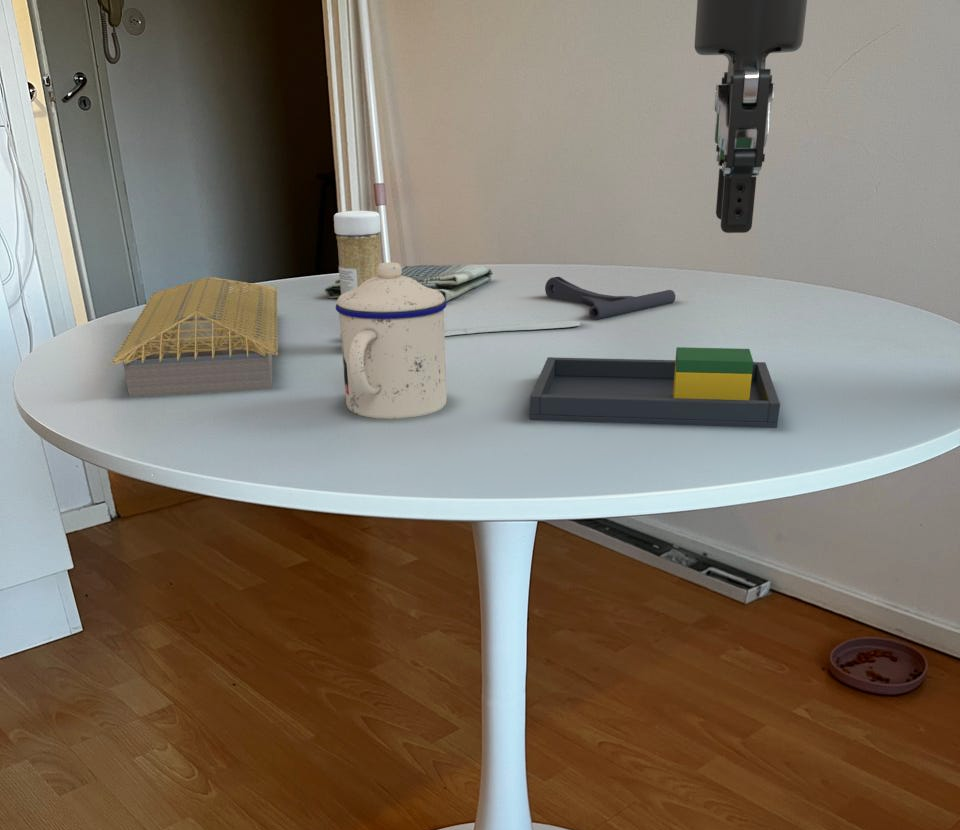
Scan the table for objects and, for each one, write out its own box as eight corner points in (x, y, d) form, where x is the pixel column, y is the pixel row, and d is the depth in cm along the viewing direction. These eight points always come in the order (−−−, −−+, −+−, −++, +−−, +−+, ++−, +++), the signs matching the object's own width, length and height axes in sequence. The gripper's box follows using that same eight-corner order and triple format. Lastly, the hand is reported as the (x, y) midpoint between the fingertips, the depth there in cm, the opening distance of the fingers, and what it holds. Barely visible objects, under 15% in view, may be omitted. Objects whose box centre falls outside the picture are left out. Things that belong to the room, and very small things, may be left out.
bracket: (585, 290, 135) (585, 268, 133) (675, 304, 125) (676, 280, 124) (509, 306, 126) (508, 283, 125) (599, 322, 117) (600, 297, 115)
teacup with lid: (371, 389, 92) (362, 253, 86) (464, 397, 89) (461, 257, 83) (308, 426, 82) (293, 276, 76) (410, 436, 79) (402, 281, 74)
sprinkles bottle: (391, 353, 104) (383, 213, 98) (348, 356, 103) (337, 215, 97) (383, 344, 108) (374, 208, 102) (341, 347, 107) (330, 210, 101)
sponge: (744, 396, 86) (749, 348, 84) (747, 411, 82) (753, 361, 80) (672, 394, 87) (676, 347, 85) (673, 408, 83) (677, 359, 81)
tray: (762, 385, 91) (765, 362, 90) (776, 430, 79) (780, 403, 78) (547, 379, 94) (547, 357, 93) (529, 421, 82) (530, 396, 81)
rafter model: (282, 392, 91) (274, 322, 88) (118, 402, 89) (104, 331, 86) (280, 317, 122) (274, 264, 119) (157, 323, 120) (148, 269, 117)
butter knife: (584, 324, 112) (576, 317, 115) (342, 343, 107) (339, 335, 110) (584, 329, 112) (576, 322, 115) (343, 348, 108) (340, 340, 110)
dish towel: (378, 277, 147) (376, 254, 145) (495, 282, 142) (494, 258, 140) (321, 300, 131) (319, 274, 130) (450, 306, 126) (450, 279, 125)
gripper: (823, -39, 63) (792, 237, 71) (798, -20, 75) (774, 214, 83) (701, -33, 64) (684, 238, 72) (696, -15, 76) (681, 215, 84)
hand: (732, 225), depth 78 cm, fingers open, 8 cm apart
